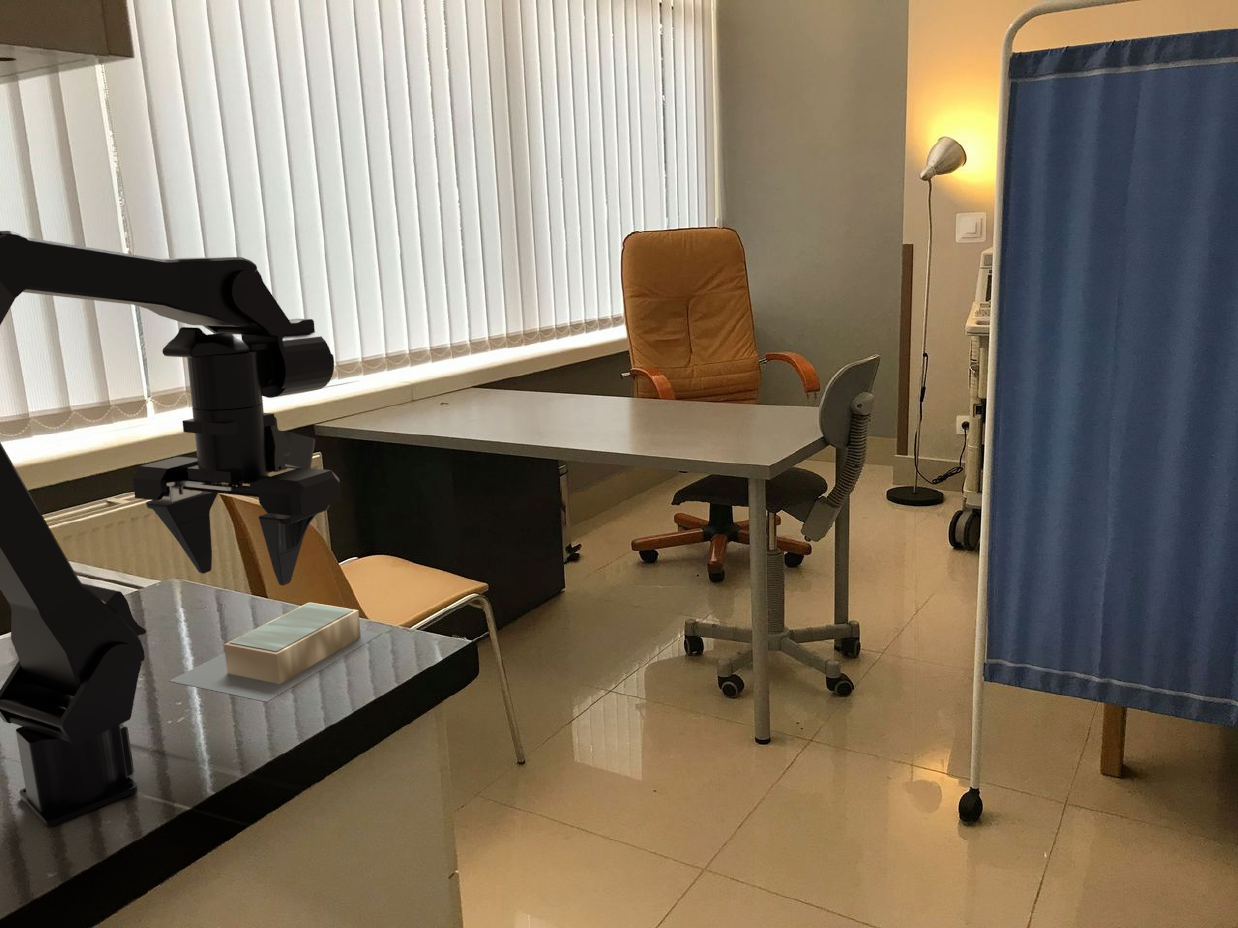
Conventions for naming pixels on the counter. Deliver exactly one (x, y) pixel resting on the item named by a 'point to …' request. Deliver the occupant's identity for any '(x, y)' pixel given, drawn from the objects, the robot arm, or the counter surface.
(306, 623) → the tile
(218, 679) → the mat
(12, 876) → the counter surface
